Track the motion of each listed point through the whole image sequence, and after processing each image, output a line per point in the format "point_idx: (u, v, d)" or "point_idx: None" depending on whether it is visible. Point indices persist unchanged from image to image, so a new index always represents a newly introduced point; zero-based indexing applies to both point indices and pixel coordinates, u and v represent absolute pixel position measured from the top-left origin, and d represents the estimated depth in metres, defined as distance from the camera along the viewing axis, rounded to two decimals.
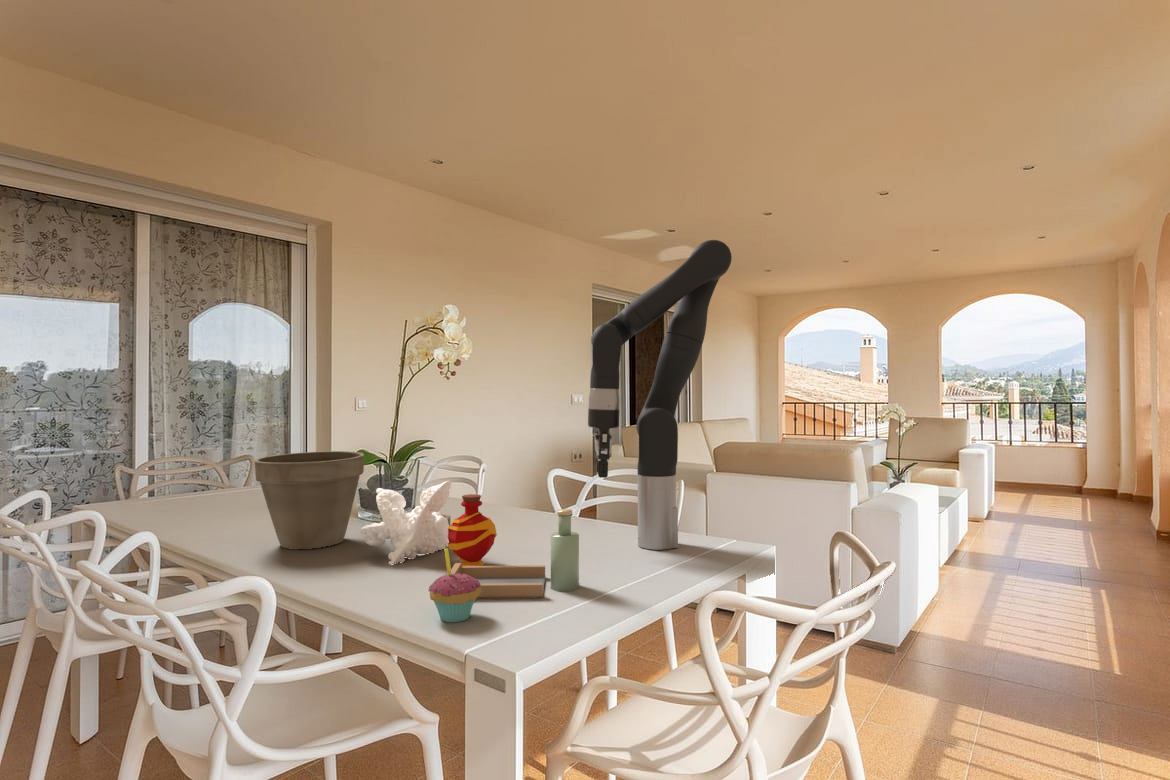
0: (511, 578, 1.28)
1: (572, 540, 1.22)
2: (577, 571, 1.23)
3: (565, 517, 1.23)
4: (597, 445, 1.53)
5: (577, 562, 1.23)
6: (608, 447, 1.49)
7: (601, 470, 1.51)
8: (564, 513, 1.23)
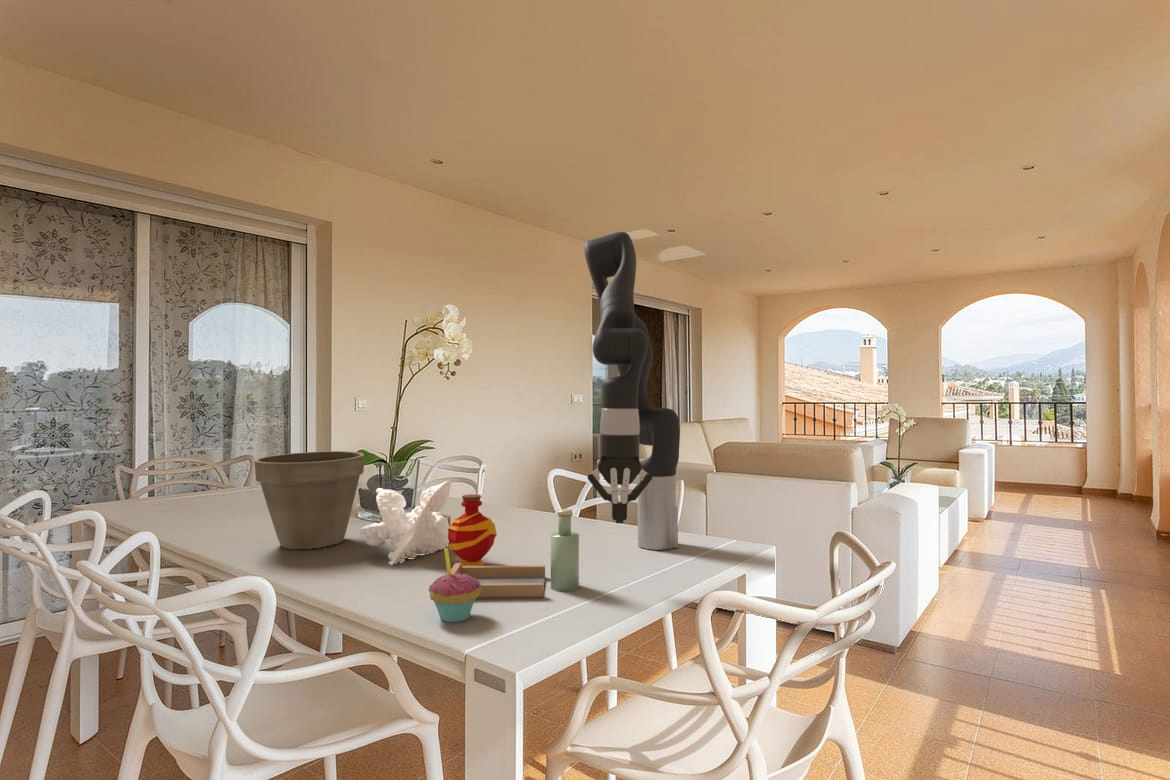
0: (511, 578, 1.28)
1: (572, 540, 1.22)
2: (577, 571, 1.23)
3: (565, 517, 1.23)
4: (628, 484, 1.23)
5: (577, 562, 1.23)
6: None
7: None
8: (564, 513, 1.23)
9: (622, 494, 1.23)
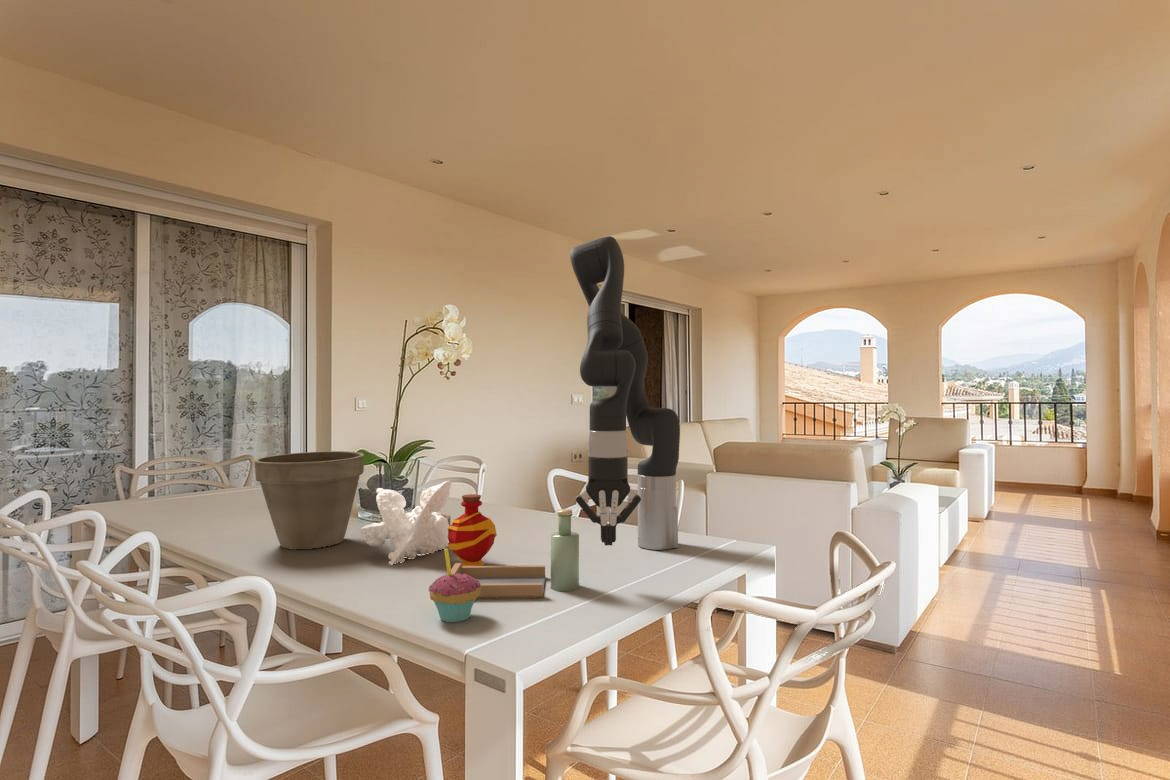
0: (511, 578, 1.28)
1: (572, 540, 1.22)
2: (577, 571, 1.23)
3: (565, 517, 1.23)
4: None
5: (577, 562, 1.23)
6: None
7: None
8: (564, 513, 1.23)
9: (611, 516, 1.23)
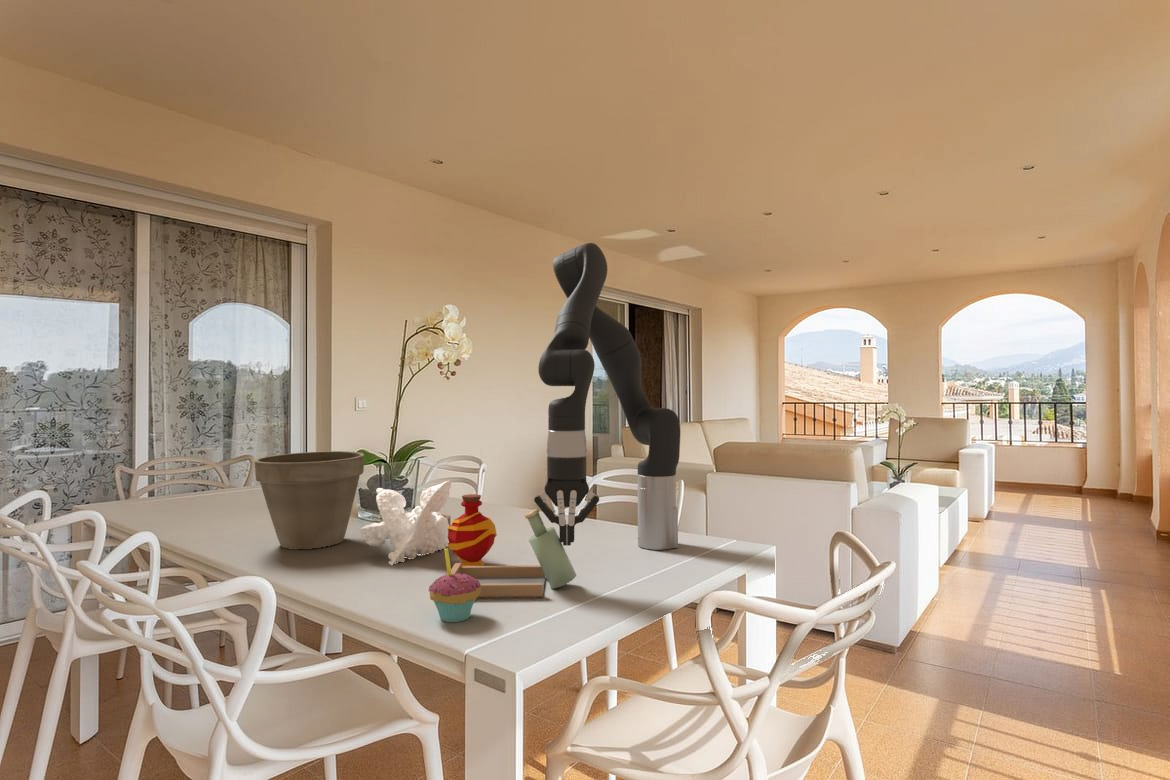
0: (511, 578, 1.28)
1: (549, 535, 1.22)
2: (567, 561, 1.23)
3: (533, 518, 1.23)
4: (575, 506, 1.23)
5: (563, 553, 1.23)
6: None
7: None
8: (531, 514, 1.23)
9: (569, 516, 1.23)
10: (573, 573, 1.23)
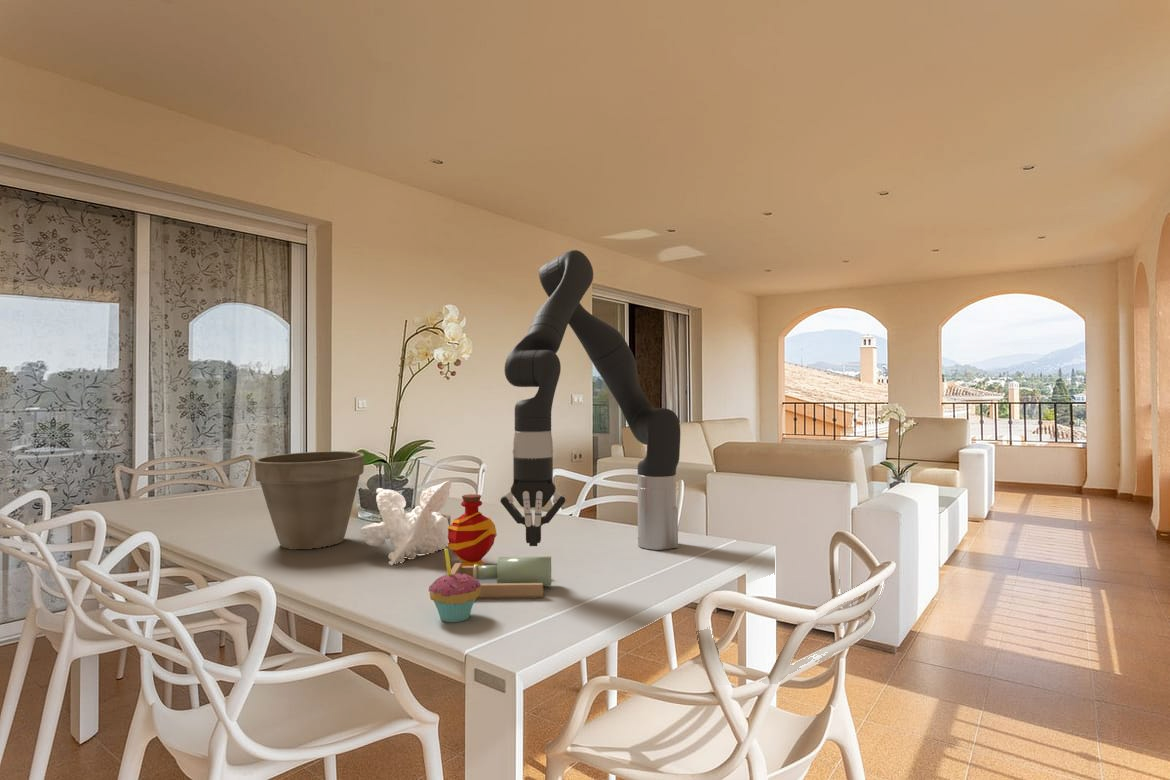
0: None
1: (500, 567, 1.21)
2: (533, 560, 1.23)
3: (479, 573, 1.22)
4: (541, 507, 1.23)
5: (524, 560, 1.23)
6: None
7: (540, 536, 1.24)
8: (474, 574, 1.22)
9: (535, 517, 1.23)
10: (546, 560, 1.23)
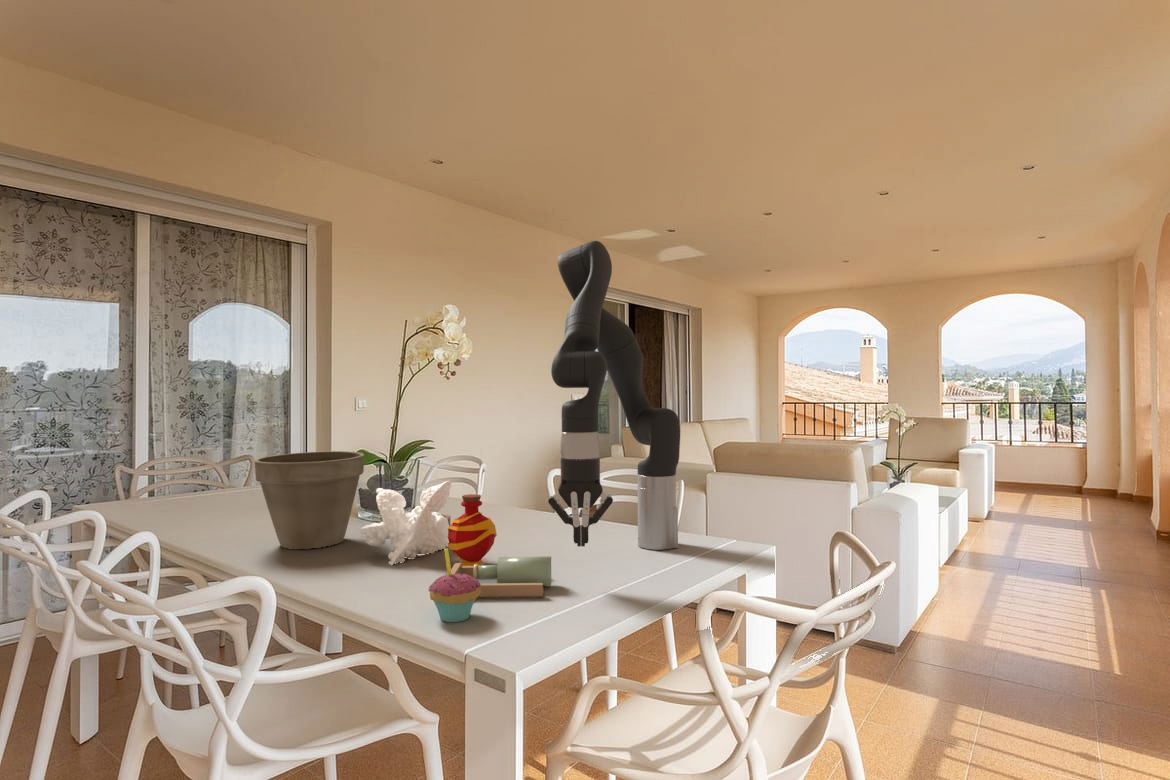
0: None
1: (500, 567, 1.21)
2: (533, 560, 1.23)
3: (479, 573, 1.22)
4: None
5: (524, 560, 1.23)
6: None
7: None
8: (474, 574, 1.22)
9: (583, 517, 1.23)
10: (546, 559, 1.23)
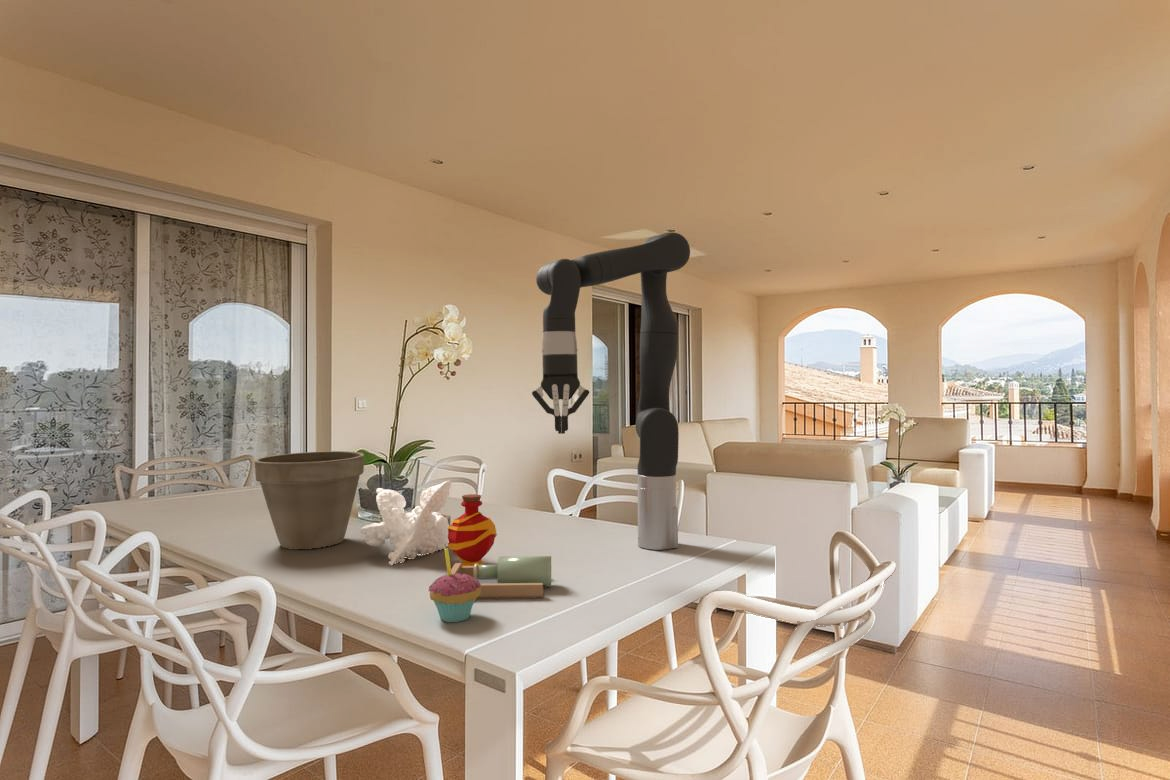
0: None
1: (500, 565, 1.22)
2: (533, 558, 1.23)
3: (479, 572, 1.23)
4: (568, 398, 1.39)
5: (524, 559, 1.23)
6: None
7: None
8: (475, 572, 1.23)
9: (563, 407, 1.40)
10: (546, 558, 1.24)
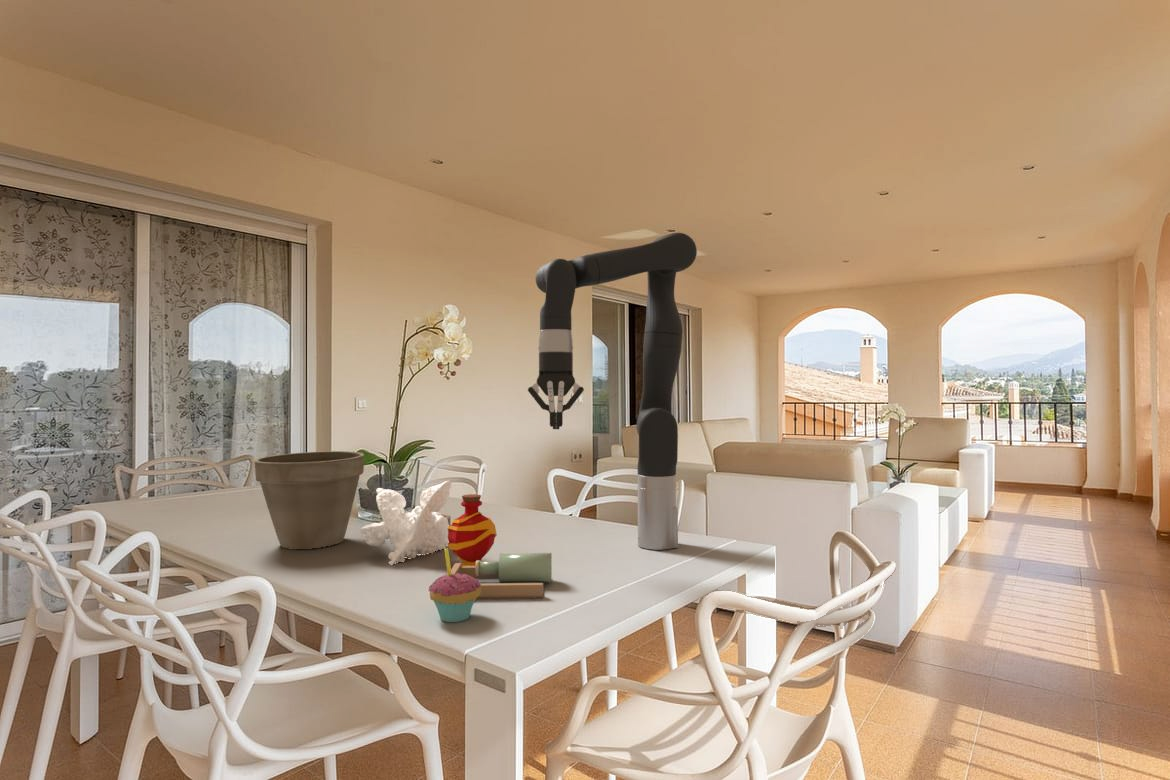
0: None
1: (502, 553, 1.26)
2: None
3: (481, 563, 1.26)
4: (563, 395, 1.43)
5: None
6: None
7: (562, 421, 1.44)
8: (477, 563, 1.25)
9: (558, 404, 1.43)
10: None
